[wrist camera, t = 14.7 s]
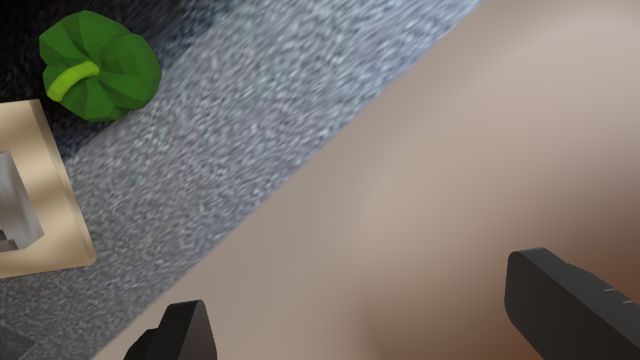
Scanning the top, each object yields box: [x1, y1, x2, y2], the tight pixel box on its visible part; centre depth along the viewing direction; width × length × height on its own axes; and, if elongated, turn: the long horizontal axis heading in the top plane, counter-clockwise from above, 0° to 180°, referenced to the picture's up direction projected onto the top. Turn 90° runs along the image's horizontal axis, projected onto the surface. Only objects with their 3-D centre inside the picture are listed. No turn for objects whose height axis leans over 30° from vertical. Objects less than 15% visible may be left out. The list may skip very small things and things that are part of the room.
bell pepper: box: [39, 10, 162, 123], centre depth 29 cm, size 8×8×10 cm
